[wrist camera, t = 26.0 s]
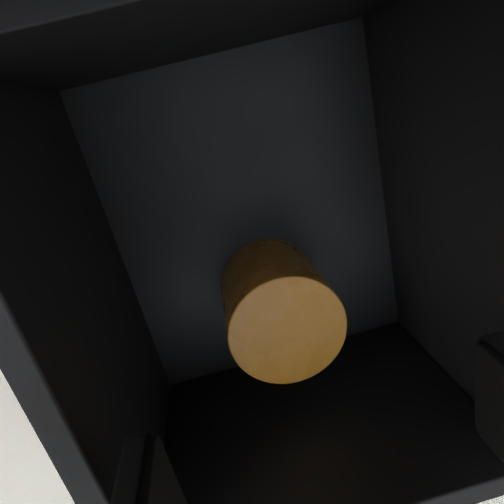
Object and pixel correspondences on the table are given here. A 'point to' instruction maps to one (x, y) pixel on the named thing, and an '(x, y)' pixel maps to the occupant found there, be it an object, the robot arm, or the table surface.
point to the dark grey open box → (253, 237)
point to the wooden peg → (280, 313)
